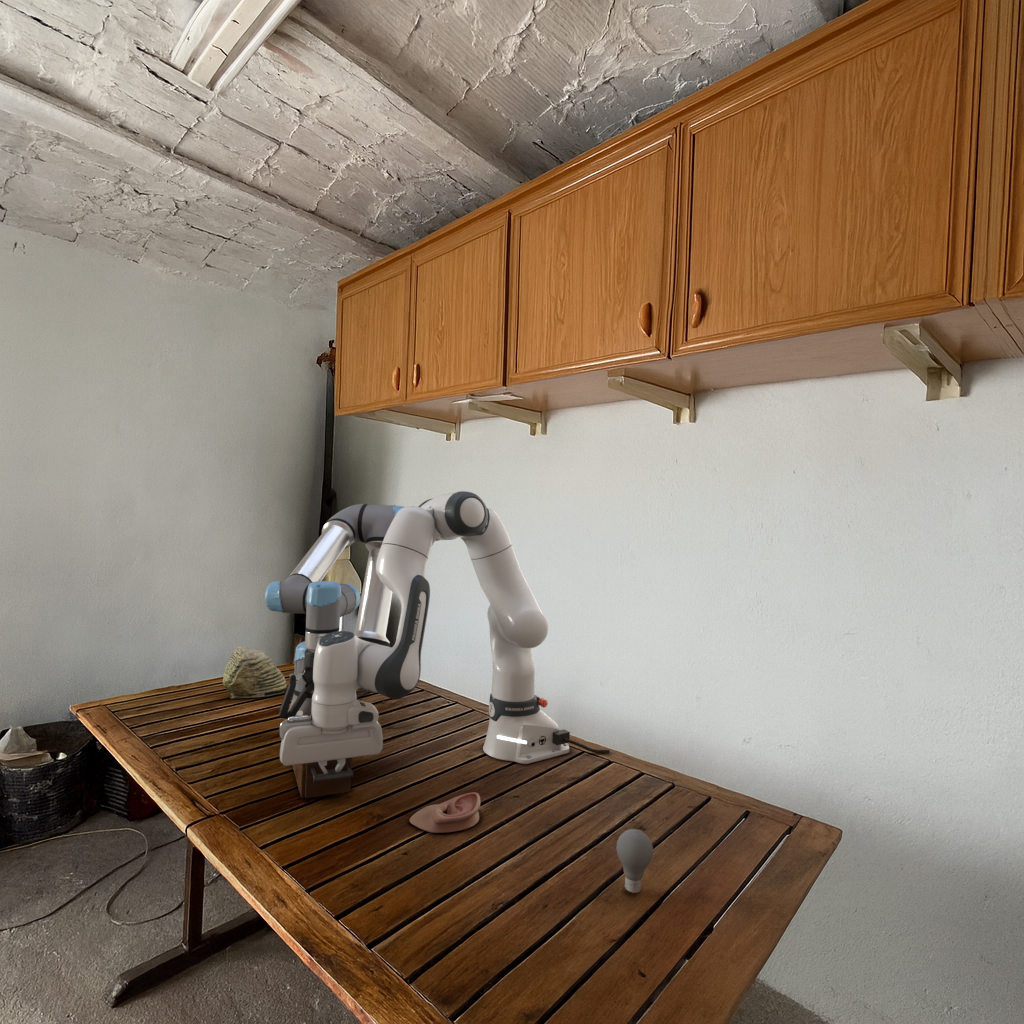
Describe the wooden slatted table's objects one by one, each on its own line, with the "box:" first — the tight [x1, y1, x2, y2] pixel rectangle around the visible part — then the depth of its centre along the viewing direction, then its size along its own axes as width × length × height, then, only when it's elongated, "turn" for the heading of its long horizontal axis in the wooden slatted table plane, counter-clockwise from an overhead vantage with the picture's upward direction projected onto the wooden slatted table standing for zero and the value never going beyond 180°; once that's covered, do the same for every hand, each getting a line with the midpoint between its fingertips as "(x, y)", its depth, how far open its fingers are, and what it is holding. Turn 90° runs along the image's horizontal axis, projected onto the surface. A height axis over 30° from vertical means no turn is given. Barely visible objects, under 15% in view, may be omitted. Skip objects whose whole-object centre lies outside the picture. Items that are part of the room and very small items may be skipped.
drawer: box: [304, 758, 354, 799], centre depth 138 cm, size 22×9×9 cm, turn 25°
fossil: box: [222, 646, 288, 699], centre depth 198 cm, size 9×18×15 cm, turn 132°
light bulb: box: [615, 828, 654, 894], centre depth 106 cm, size 6×6×10 cm
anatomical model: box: [409, 791, 481, 834], centre depth 126 cm, size 13×4×12 cm
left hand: (318, 744), depth 147 cm, fingers closed on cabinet, 10 cm apart
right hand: (331, 779), depth 130 cm, fingers closed
